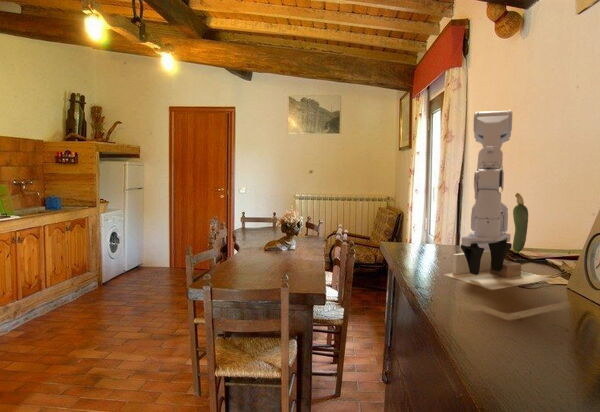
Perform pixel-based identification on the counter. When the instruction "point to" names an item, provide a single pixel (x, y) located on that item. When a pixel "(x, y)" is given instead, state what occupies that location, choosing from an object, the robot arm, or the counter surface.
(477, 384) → the counter surface
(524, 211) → the vegetable
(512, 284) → the birch board
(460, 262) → the beige rectangular slab
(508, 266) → the walnut block
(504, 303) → the counter surface
